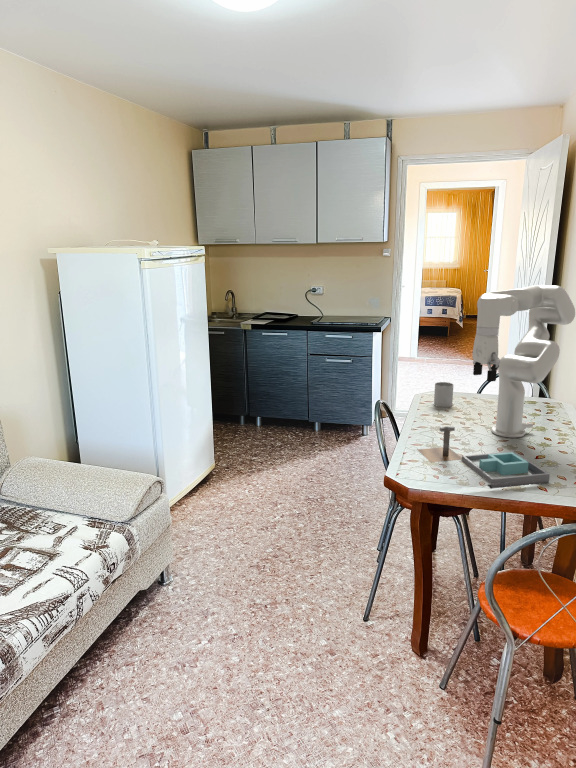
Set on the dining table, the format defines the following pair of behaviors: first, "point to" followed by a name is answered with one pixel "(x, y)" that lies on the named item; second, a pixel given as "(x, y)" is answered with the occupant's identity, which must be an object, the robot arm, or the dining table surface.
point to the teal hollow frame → (504, 463)
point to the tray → (536, 476)
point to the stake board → (441, 449)
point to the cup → (443, 394)
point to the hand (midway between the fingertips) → (484, 377)
